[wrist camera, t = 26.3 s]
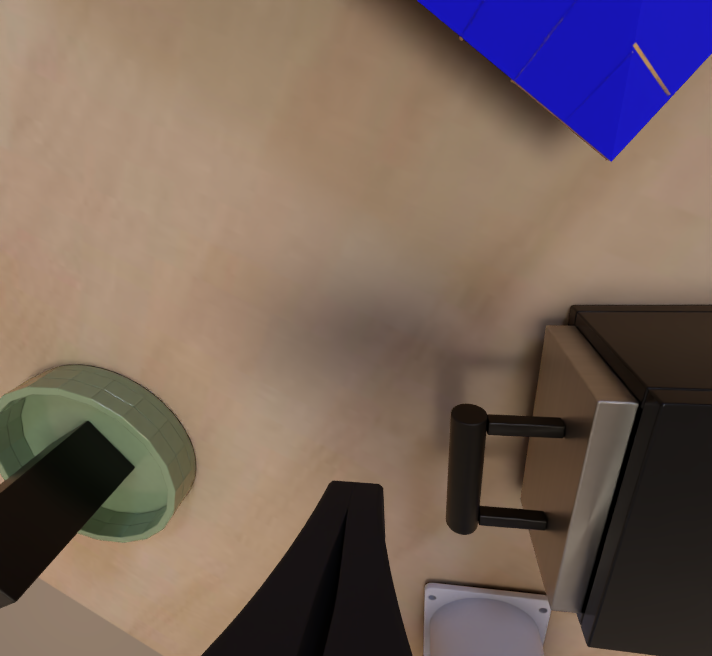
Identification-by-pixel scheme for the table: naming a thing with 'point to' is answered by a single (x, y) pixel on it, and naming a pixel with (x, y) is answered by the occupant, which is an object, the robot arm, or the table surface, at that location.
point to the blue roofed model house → (589, 56)
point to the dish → (119, 426)
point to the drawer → (553, 463)
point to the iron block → (53, 503)
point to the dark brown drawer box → (657, 484)
